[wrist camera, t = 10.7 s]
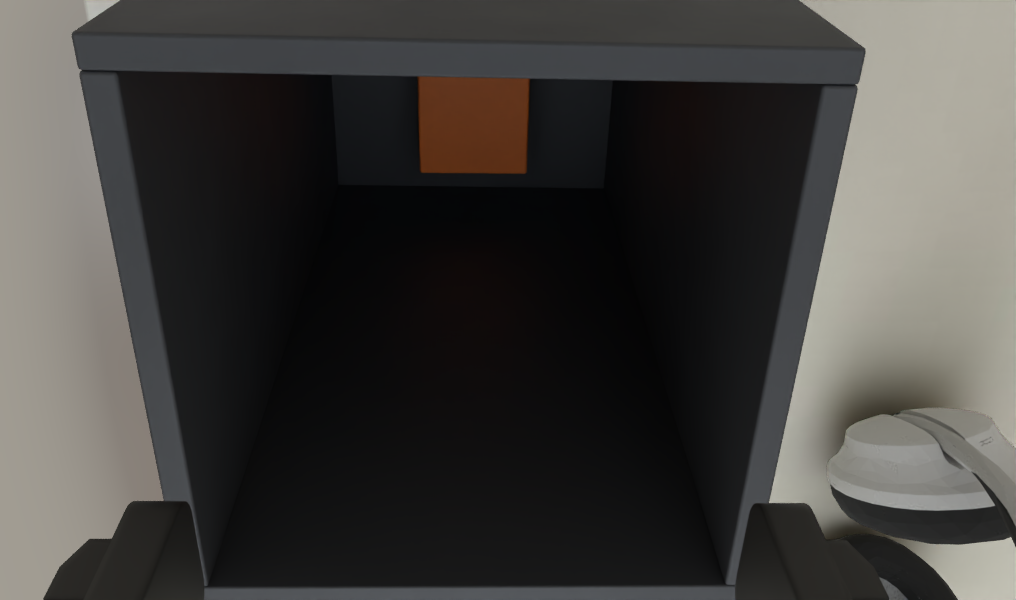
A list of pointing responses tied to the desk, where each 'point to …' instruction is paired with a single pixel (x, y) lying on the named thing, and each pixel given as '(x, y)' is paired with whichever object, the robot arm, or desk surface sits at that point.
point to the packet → (473, 125)
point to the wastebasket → (467, 285)
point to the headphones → (924, 490)
